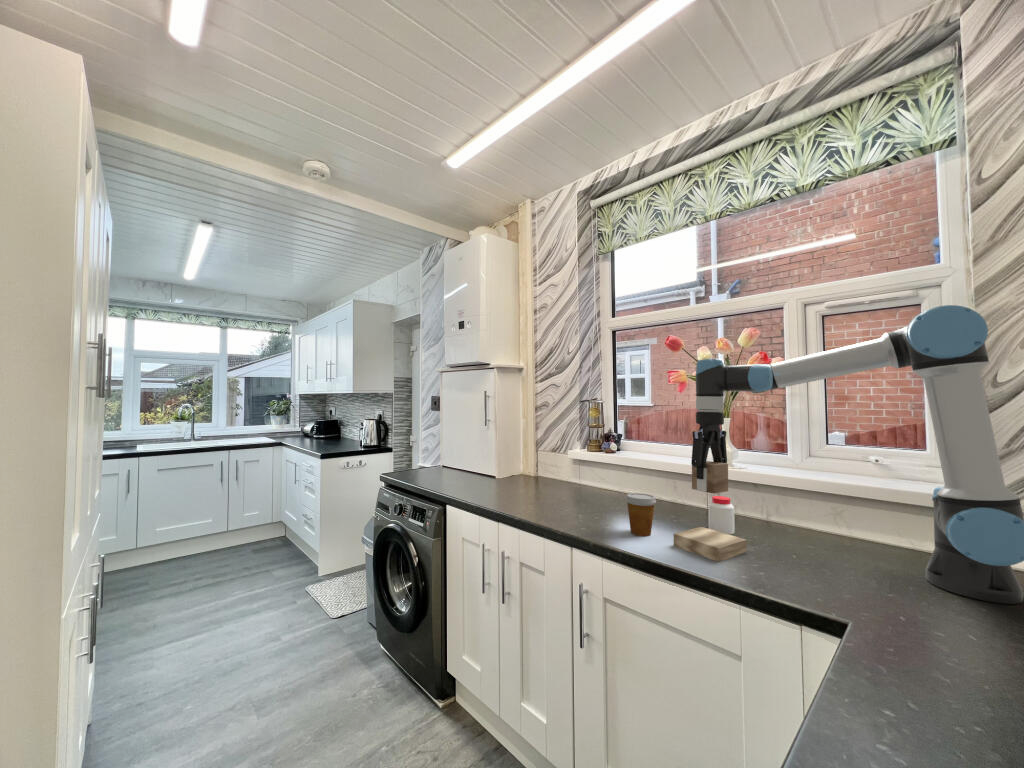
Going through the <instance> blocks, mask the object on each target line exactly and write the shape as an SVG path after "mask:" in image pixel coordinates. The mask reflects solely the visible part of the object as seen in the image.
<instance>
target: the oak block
mask: <svg viewBox="0 0 1024 768" xmlns="http://www.w3.org/2000/svg"><path fill="white" fill-rule="evenodd" d="M747 544H748V542H747V539H745V538H742V537H738V536H735V535H733V534H725V533H722V532H718V531H715V530H711V529H709V527H708V528H707V527H704V526H699V527H694V528H691V529H687V530H684V531H679V532H675V533H673V547H675V548H679V549H681V550H683V551H684V550H685V551H688V552H690V553H692V554H696V555H699V556H701V557H704V558H707V559H710V560H713V561H715V562H718V563H720V562H722V561H725V560H728V559H731V558H734V557H737V556H740V555H742V554H743V555H744V554H745V553H747V552H748V550H747V549H748V547H747V546H748V545H747Z"/></svg>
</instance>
